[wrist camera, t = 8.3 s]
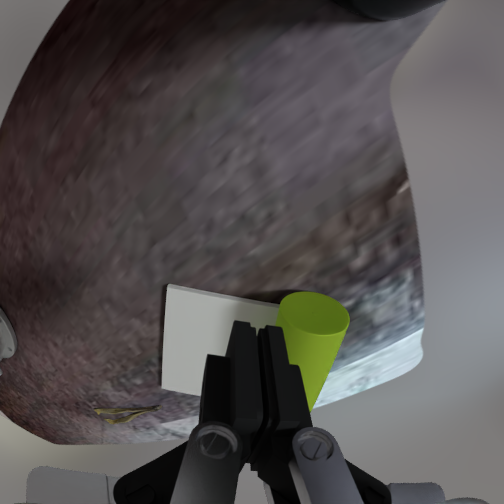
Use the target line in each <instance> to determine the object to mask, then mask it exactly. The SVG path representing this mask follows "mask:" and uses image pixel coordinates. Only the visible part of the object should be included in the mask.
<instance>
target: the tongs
mask: <svg viewBox="0 0 504 504" xmlns="http://www.w3.org/2000/svg"><path fill="white" fill-rule="evenodd" d="M161 408H162V406H161V405H158V406H151V407H143V408H126V409H121V408H115V409H114V408H113V409H94V410H95V411H96V412H97V413H98V415H99V413H110V414H116V413H122V412H137V411H141V412H138V413H134V414H132V415H129V416H127V417H124V418H120V420H119V419H117V420H111V419H104V420H107V421H108V422H109V423H110V424H118V423H125V422H128V421H130V420H132V419H134V418H136V417H138V416H139V415H141V414H144V413H147V412H153V411H158V410H160V409H161ZM107 410H108V411H107ZM109 420H110V421H111V422H110V421H109ZM117 421H119V422H117Z"/></svg>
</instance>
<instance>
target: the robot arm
mask: <svg viewBox="0 0 504 504" xmlns="http://www.w3.org/2000/svg"><path fill="white" fill-rule="evenodd" d="M16 349H17V339H16V335H15V332H14V330H13V327H12V325H11V323H10V322H9V320H8V318H7V316H6V315H5V313H4V312H3V310H2V309H1V308H0V361H1V360H2V358H10V357H11V356H13V354H14V353H15V351H16ZM2 373H3V372H2V369H1V367H0V375H2ZM245 463H250V464H251V465H250V466H251V471H257V472H258V477H259V478H260V479H261V480H263V483H264V489H265V493H266V497H267V501H268V504H489V503H487V502H486V501H484V500H481V499H477V498H468V497H467V498H455V499H451V500H446V501H445V495H444V492H443V489H442V488H441V487H440V486H439V485H437V484H436V483H432V482H428V483H390V484H389V485H385V484H383V483H382V482H381V481H379V480H377V479H376V478H374V477H372V476H371V475H369V474H367V473H366V472H364V471H363V470H361V469H359V468H358V467H356V466H355V465H353V464H352V463H350V462H349V461H347V460H346V459H344V457H343V454H342V452H341V450H340V447H339V445H338V443H337V441H336V439H335V438H334V436H332V435H331V434H330V433H329V432H328V431H326V430H324V429H321V428H317V427H313V425H312V421H311V417H310V411H309V407H308V402H307V397H306V393H305V388H304V384H303V379H302V375H301V370H300V367H299V366H298V365H294V364H290V363H289V358H288V353H287V348H286V343H285V338H284V333H283V328H282V327H279V326H272V325H266V326H265V328H259V331H258V334H257V335H256V328H255V327H251V324H250V322H244V321H238V320H234V322H233V326H232V330H231V334H230V338H229V342H228V346H227V350H226V354H225V356H219V355H212V354H207V357H206V362H205V368H204V374H203V381H202V390H201V401H200V412H199V424H198V425H197V426H196V427H195V428H194V429H193V430H192V432H191V434H190V436H189V440H188V441H186V442H184V443H183V444H182V445H179V446H178V447H176V448H174V449H173V450H171V451H169V452H167V453H166V454H164V455H162V456H160V457H159V458H157V459H155V460H153V461H151V462H149V463H147V464H146V465H144V466H142V467H140V468H138V469H136V470H134V471H132V472H130V473H128V474H126V475H124V476H123V477H112V476H107V475H106V474H99V473H88V472H79V471H72V470H65V469H59V468H53V467H47V466H40V467H37V468H34V469H33V470H32V471H31V472H30V473H29V475H28V478H27V490H26V492H27V493H26V503H17V504H234V501H235V495H236V488H237V482H238V476H239V473H240V472H241V470H242V468H243V466H244V464H245Z"/></svg>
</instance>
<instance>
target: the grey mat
mask: <svg viewBox="0 0 504 504" xmlns="http://www.w3.org/2000/svg"><path fill="white" fill-rule="evenodd" d="M279 306H280V304H274V303H268V302H262V301H257V300H251V299H245V298H240V297H234V296H229V295H223V294H218V293H213V292H208V291H203V290H198V289H193V288H188V287H183V286H178V285H173V284H168V287H167V296H166V309H165V324H164V341H163V362H162V388H163V389H167V390H172V391H177V392H182V393H187V394H192V395H198V396H201V390H202V381H203V374H204V368H205V362H206V357H207V354H212V355H219V356H225V354H226V350H227V346H228V342H229V338H230V334H231V330H232V326H233V322H234V320H238V321H244V322H250V324H251V327H255V328H256V335H257V334H258V331H259V328H265V326H266V325H272V326H275V324H276V320H277V315H278V311H279Z"/></svg>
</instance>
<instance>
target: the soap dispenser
mask: <svg viewBox="0 0 504 504" xmlns="http://www.w3.org/2000/svg"><path fill="white" fill-rule="evenodd" d="M349 321H350V318H349V314H348V312H347V310H346V309H345V308H344V307H343V306H342V305H341V304H340V303H339V302H338V301H336V300H334V299H333V298H331V297H328V296H326V295H323V294H320V293H315V292H295V293H292V294H289V295H287V296H286V297H284V298H283V300H282V301H281V303H280V306H279V311H278V315H277V320H276V324H275V326H279V327H282V328H283V333H284V338H285V343H286V348H287V353H288V358H289V363H290V364H294V365H298V366H299V367H300V370H301V375H302V379H303V384H304V388H305V393H306V397H307V402H308V407H309V411H310V412H311V410H312V408H313V406H314V404H315V402H316V400H317V398H318V396H319V393H320V391H321V389H322V387H323V385H324V383H325V380H326V378H327V376H328V374H329V371H330V369H331V367H332V364H333V362H334V360H335V357H336V355H337V353H338V350H339V348H340V345H341V343H342V340H343V338H344V335H345V333H346V330H347V328H348V325H349Z"/></svg>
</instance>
